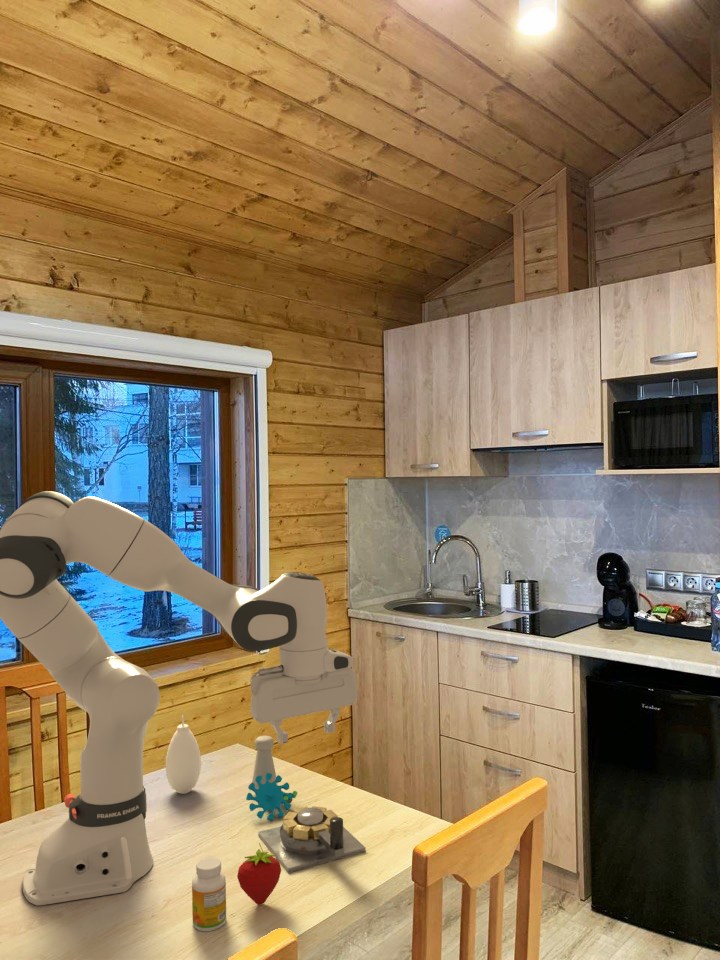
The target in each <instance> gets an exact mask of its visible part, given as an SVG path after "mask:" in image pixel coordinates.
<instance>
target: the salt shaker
mask: <svg viewBox="0 0 720 960" xmlns="http://www.w3.org/2000/svg"><path fill="white" fill-rule="evenodd" d="M274 741H275V740H274V738H273V737H272V736H270V735H260V736H258V737H257V738H255V740H254V747H255V749H256V756H255V761H254V767H253V773H252V780H251V783H252V782H253V783H254V784H255V789H259V785H258V783H257V782H256V780H255V779H256V777H257V776H262V780H261V784H265V782H266V777H265V776H266V774H267V773H270V774H272V777H271V779H270V780H268V781H269V783H272V782H274V781H275V780H276V777H277V773H276V769H275V762H274V758H273V754H272V749H273V748H274V745H275V742H274ZM278 784H279V783H276V785H278Z"/></svg>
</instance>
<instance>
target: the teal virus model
mask: <svg viewBox="0 0 720 960" xmlns="http://www.w3.org/2000/svg"><path fill="white" fill-rule="evenodd" d="M265 777H266V782H265V784H261V780H262V776H257V777H256V779H255V780H256V782H257V783H258V785H259V789H255V784H254V783H253V782H252V781H251V782H250V784H249V785H248V786H247V788H248V790H250V791H252V792H253V793H254V794H255V795H253V794H252V792H248V793H247V794H246V799H245V800H247V801H255V802H256V803H257V804H256V803H253V802H252V803H250V804H249V807H248V808H249V810H250V811H251V812H254V810H256V809H263V810H259V811H258V812H257V813H256V816H257V817H258V818H259V820H260V819H262V818H263V816H264V814H265V813H266V812H268V811H269V812H270V813H269V814H268V815H267V817H266V820H268V821H272V822H273V820H274V819H275V816H274V814H275V813H274V812H275V810H278V813H277V818H279V819H281V818H284V817H285V813H284V811H283V809H282V805H283V806H284V810H285V811H289V810H290V809H291V808H292V804H291V803H292V801H293V799H296V797H297V795H298V792H297V791H296V790H293V791H292V792H284V791H283V789H284V790H286V791H288V790H289V789H290V783H289V782H285V783H283V784H282V785H278V784H279V783H281V782H282V780H283V777H281V775H279V774H277V775H276V780H275V781H274V782H272V783H269V781H268V780H270V779H271V777H272V774H270V773H267V774H266V776H265ZM276 783H278V784H277V785H276ZM281 804H282V805H281Z"/></svg>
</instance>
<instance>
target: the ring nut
mask: <svg viewBox="0 0 720 960" xmlns="http://www.w3.org/2000/svg"><path fill="white" fill-rule="evenodd" d="M304 808H309V806H304V807H303V806H302V807H297V808H295V809H292V811H288V812H287V813H286V814H285V815H284V816H283V817H282V824H283V831H284V832H285V833H286V834H287V835H288V836H289V837H290V836H293V839H299V840H306V841H308V840H309V839H310V838H311V837H312V839H313V840H318V839H319V841H320V842H321V843H322V844H323V845H324V846H325V847H326V848H327V849H328V850H329V851H330V852H331V853H332V854H333V855H334V856H335V857H337V856H341V855H344V847H343V827H344V818H342V817H339V816H338V815H337V814H336V812H335V811H334V810H332V809H327V807H323V806H322V807H321V806H314V805H313V806H311V808H318V809H321V810H322V811H323V822H324V823H323V824H319V825H315V826H304V825H298V824H297V823H298V812H299V811H300V810H302V809H304Z"/></svg>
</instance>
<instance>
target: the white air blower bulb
mask: <svg viewBox="0 0 720 960" xmlns="http://www.w3.org/2000/svg"><path fill="white" fill-rule="evenodd" d="M184 717H185V716H184V714H182V715H181V724H179V725H178V726H176V731H175V732H174V733H173V735H172V738H171V740H170V742H169V745H168V748H167V753H166V758H165V773H166V779H167V781H168V782H167V783H168V784H169V786H170V787H171V789H172V790H174V791H175V792H176V793H179V794H181V795H185V794H188V793H189V792H191V791H192V789H194V787H196V785H197V783H198V781H199V778H200V775H201V769H202V760H201V757H202V756H201V752H200V747H199V745H198V742H197V738H196V737H195V736H194V735H195V734H193V732H192V730H191V729H190V726H189V725H188V724H186V723H185V719H184Z"/></svg>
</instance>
